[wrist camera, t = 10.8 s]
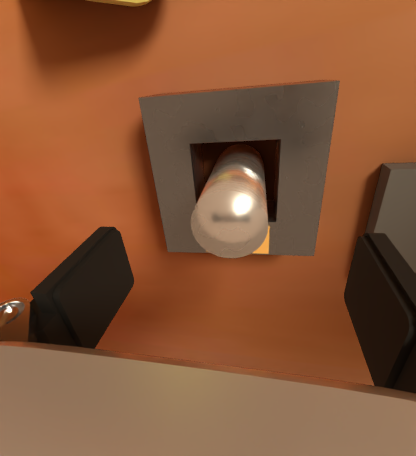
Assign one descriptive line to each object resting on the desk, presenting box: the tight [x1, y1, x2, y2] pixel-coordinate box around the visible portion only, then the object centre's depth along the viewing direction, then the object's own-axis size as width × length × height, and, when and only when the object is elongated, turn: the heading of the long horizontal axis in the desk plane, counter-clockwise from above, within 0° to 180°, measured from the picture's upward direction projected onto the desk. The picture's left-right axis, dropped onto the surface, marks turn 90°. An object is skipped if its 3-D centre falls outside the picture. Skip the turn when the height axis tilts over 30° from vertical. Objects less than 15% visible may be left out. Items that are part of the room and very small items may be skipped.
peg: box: [191, 144, 268, 258], centre depth 18 cm, size 4×4×10 cm
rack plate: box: [139, 80, 340, 256], centre depth 20 cm, size 12×12×4 cm
